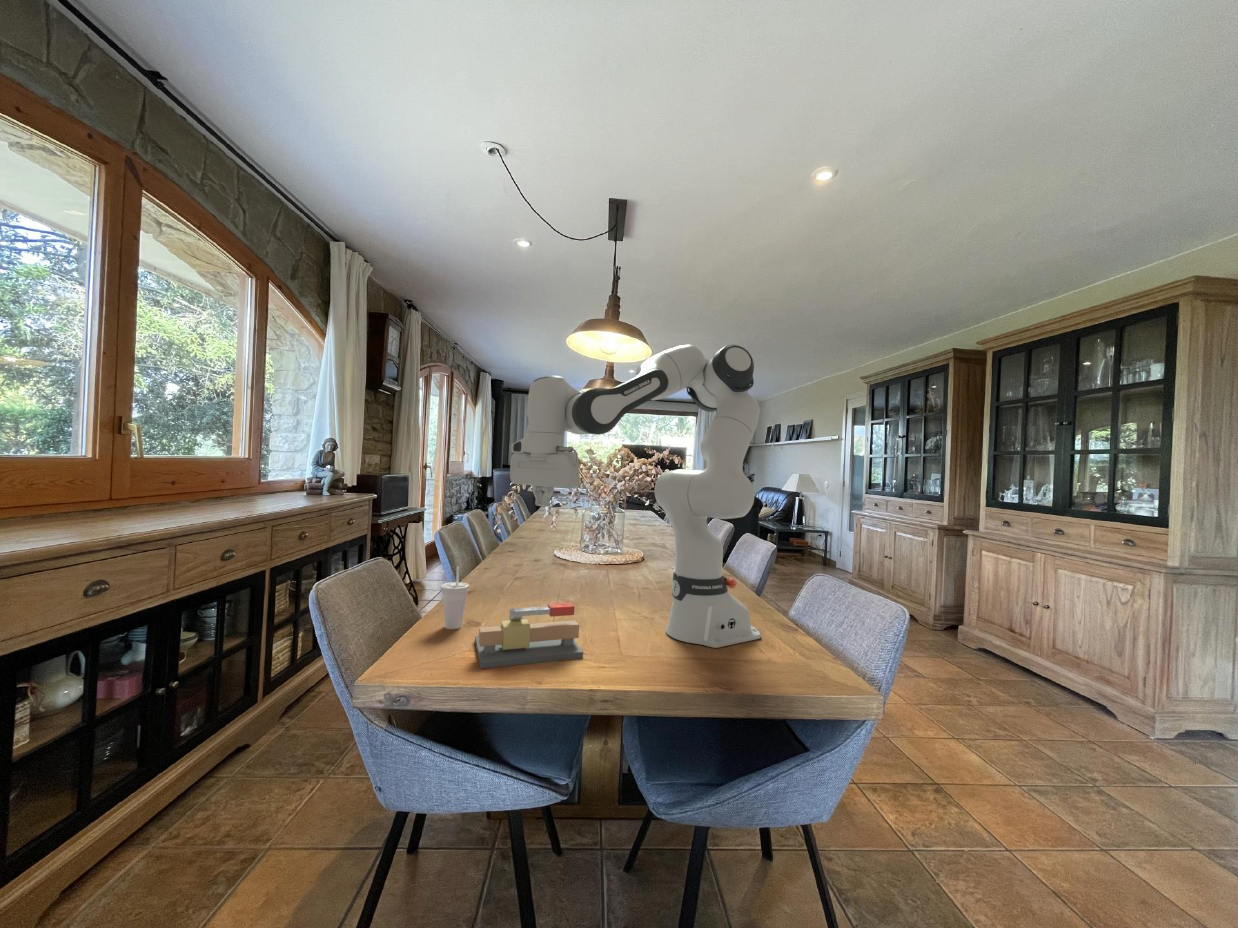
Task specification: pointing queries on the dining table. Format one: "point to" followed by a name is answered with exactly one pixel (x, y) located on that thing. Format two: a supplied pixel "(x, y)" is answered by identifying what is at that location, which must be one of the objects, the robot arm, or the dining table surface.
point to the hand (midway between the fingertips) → (542, 506)
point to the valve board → (528, 653)
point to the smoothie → (454, 602)
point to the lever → (542, 611)
